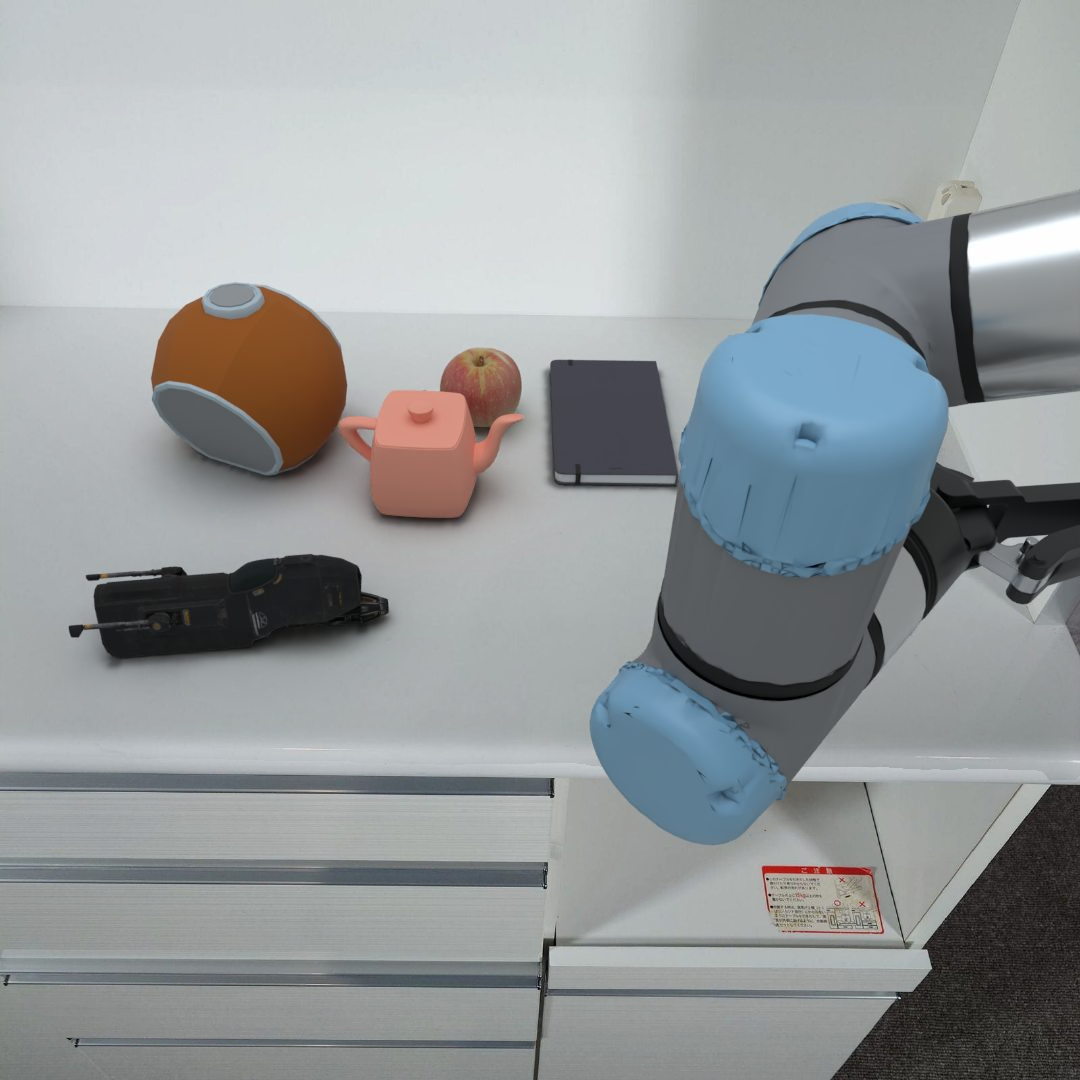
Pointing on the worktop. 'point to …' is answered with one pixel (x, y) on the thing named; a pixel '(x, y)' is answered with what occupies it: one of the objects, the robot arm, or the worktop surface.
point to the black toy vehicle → (226, 604)
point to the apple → (484, 383)
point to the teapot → (424, 452)
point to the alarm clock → (250, 378)
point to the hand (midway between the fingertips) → (1028, 386)
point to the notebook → (610, 424)
